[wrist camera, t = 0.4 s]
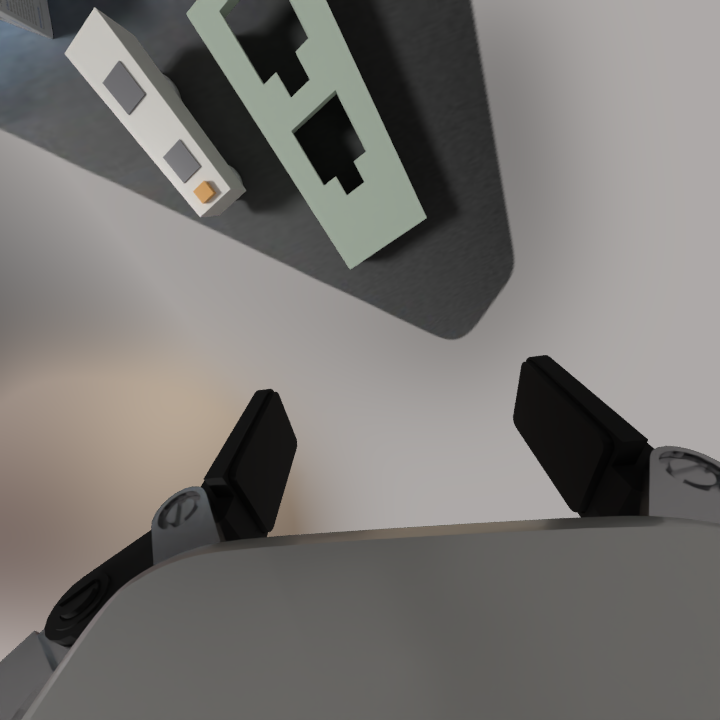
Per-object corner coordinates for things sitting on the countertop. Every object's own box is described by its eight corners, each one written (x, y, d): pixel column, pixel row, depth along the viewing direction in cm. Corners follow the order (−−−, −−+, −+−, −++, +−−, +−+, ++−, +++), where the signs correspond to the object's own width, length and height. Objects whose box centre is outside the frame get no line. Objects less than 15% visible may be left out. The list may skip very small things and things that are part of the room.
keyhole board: (216, 45, 26) (186, 14, 22) (294, -47, 23) (277, -105, 19) (352, 261, 36) (350, 269, 32) (419, 216, 33) (426, 217, 29)
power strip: (130, 86, 28) (57, 49, 21) (157, 51, 26) (87, 1, 20) (230, 214, 34) (196, 217, 27) (256, 191, 32) (227, 188, 26)
